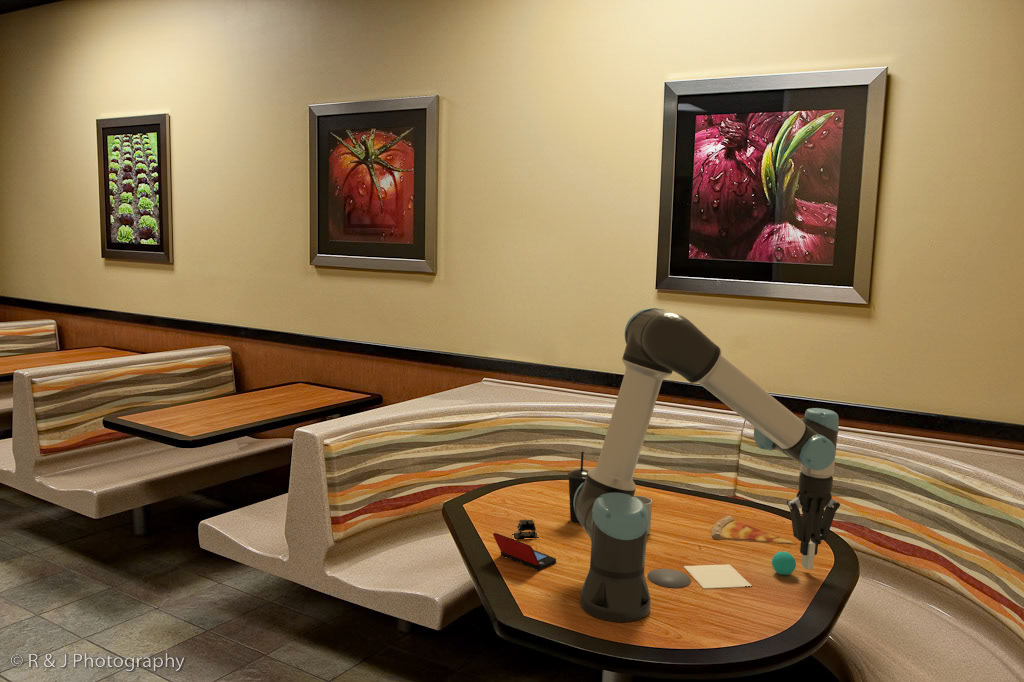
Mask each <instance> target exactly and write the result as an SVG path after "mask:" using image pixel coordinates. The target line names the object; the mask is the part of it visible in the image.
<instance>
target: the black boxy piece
mask: <svg viewBox="0 0 1024 682" xmlns="http://www.w3.org/2000/svg"><path fill="white" fill-rule="evenodd" d="M516 526H517V527H516V528H517V532H513V533H514V534H512V535H514V538H515V539H524V538H539V537H537V533H536V532H537V531H536V530H537V528H536V526H535V522H534V520H533V519H519V520H518V523H517V525H516Z"/></svg>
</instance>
